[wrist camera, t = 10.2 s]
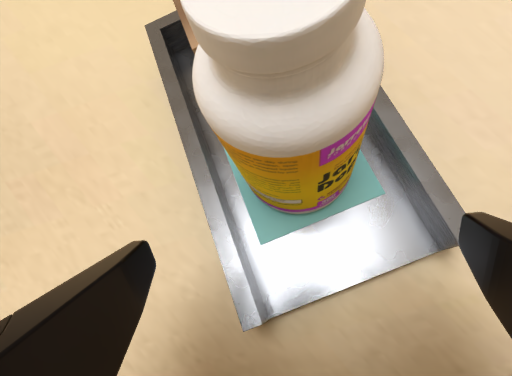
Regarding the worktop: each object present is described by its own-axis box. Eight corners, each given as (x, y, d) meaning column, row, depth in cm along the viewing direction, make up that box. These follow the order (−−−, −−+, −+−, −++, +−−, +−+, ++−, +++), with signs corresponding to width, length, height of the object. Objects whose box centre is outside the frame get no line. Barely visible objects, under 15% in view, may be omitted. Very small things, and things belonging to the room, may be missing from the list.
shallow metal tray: (449, 246, 17) (481, 237, 14) (256, 323, 18) (243, 332, 14) (296, -2, 25) (293, -46, 21) (166, 58, 25) (144, 25, 22)
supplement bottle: (323, 235, 17) (340, 125, 5) (229, 189, 19) (88, 35, 7) (369, 140, 19) (467, -123, 7) (276, 106, 21) (221, -142, 9)
